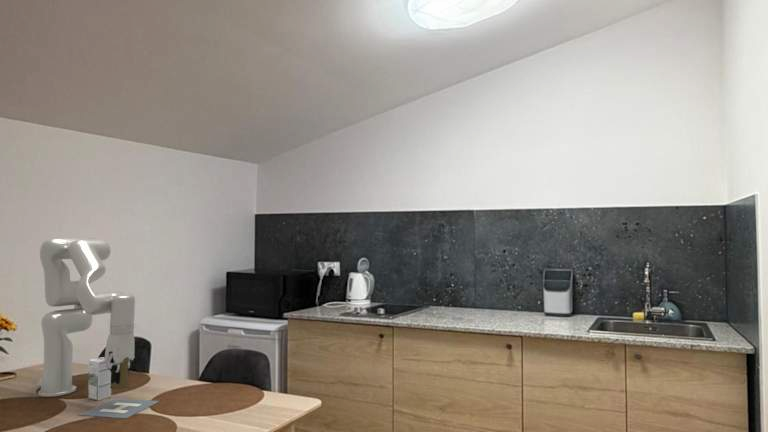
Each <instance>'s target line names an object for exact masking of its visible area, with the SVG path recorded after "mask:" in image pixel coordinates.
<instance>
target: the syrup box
mask: <svg viewBox="0 0 768 432" xmlns="http://www.w3.org/2000/svg"><path fill="white" fill-rule="evenodd" d="M105 365H106V363H105V356H103V357H102V356H101V357H94V358H91V359H89V360H88V372H87V375H88V378H87V381H88V383H87V385H88V386H87V399H88V400H94V401H102V400H105V399H108V398H110V397H112V389H111V388H110V386H111V372H110V370H109V369H108V368H107V367H105Z"/></svg>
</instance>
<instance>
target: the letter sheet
mask: <svg viewBox="0 0 768 432" xmlns="http://www.w3.org/2000/svg"><path fill="white" fill-rule="evenodd" d="M159 402H160V400H147V399H146V400H145V399H131V398H129V399H128V398H117V397H115V398H113V399H112V400H111V399H110V400H108V401H107V402H104V403H103V404H100V405H98V406H95V407H92V408H91V409H89V410H87V411H84V412H81V413H80V414H78V416H82V417H83V416H84V417H97V418H98V417H99V418H113V419H123V420H124V419H125V420H126V419H128V418H131V417H132V416H134V415H136V414H138V413H140V412H142V411H144V410H147V409H149V408H151V407H152V406H154V405H156V404H159Z"/></svg>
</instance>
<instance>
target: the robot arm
mask: <svg viewBox="0 0 768 432" xmlns="http://www.w3.org/2000/svg"><path fill="white" fill-rule="evenodd" d="M110 255H111V246H110V245H109V243H108V242H107V240H105V239H102V238H93V237H92V238H91V237H53V238H48V239H46V240H44V241H43V242H42V244H41V245H40V249H39V259H40V262H41V266H42V268H43V274H44V277H43V278H44V295H45V296H44V298H45V302H46V304H47V305H48V306H49V307H52V308H53V307H56V308H58V307H66V306H73V308H66V309H58V310H57V309H56V310H53V311H49V312H48V313H45V315H44V316H43V317H42V319H41V329H42V336H43V372H42V373H43V375H42V376H43V377H42V378H43V379H40V380H38V382H37V383H35V386H36V387H40V389H39V390H38V392H37V395H38V397H45V398H47V397H49V398H51V397H59V396H64V395H68V394H72V393H74V392H75V391H77V385H76V384H75V385H74V384H73V357H74V356H73V354H74V353H73V352H74V351H73V350H74V349H73V348H74V346H73V342H72V341H71V339H70V338H69V337H68V335H69V334H73V333H79V332H84V331H87V330H89V329H90V328H91V326H92V323H93V316H96V315H97V316H98V315H103V314H110V319H109V334H108V337H107V340H106V344H105V353H104V358H105V363H106V365H105V367H107V368H108V369H109V370H110V372H111V383H114V382H115V383H116V384H119V383H120V372H119V368H120V363H122V362H123V360H124V359H125V358H126V357H128V358H129V363H128V364H127V368H128V378H129V377H130V376H129V372H130V371H129V369H130V368H131V364H132V363H133V360H134V359H135V358H136V356H135V351H136V350H135V347H136V346H135V345H136V344H135V333H134V328H135V327H134V326H135V307H136V305H135V304H136V301H135V300H136V298H135V295H133V294H130V293H124V292H122V291H117V290H116V291H107V292H98V293H97V292H95V293H94V292H93V289H92V288H91V286H90V284H92V283H93V282H95V281H98V280H99V279H100V278H102V277H103V275H105V273H106V270H107V269H106V266H105V265H104V263H103V261H105V260H107V259H108V258H109V257H110ZM64 260H71V261H72V263H73V265H74V267H75V268H76V270H77V272H78V273H79V275H80V279H79V280H73V281H71V272H70V268H69V266H68V264H66V262H64ZM114 365H116V367H115V366H114Z"/></svg>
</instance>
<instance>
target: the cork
mask: <svg viewBox="0 0 768 432" xmlns="http://www.w3.org/2000/svg"><path fill="white" fill-rule="evenodd" d="M128 363H129V358H128V357H126V358H125V359H124V360H123V362H122V363H120V368H119V372H120V383H119V384H116V383H115V382H114V383H111V386H110V388H111V390H123V389H124V390H125V389H127V388H129V387H130V381H129V377H128V369H129V368H127V364H128ZM114 366H115V367H116V365H114Z"/></svg>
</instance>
